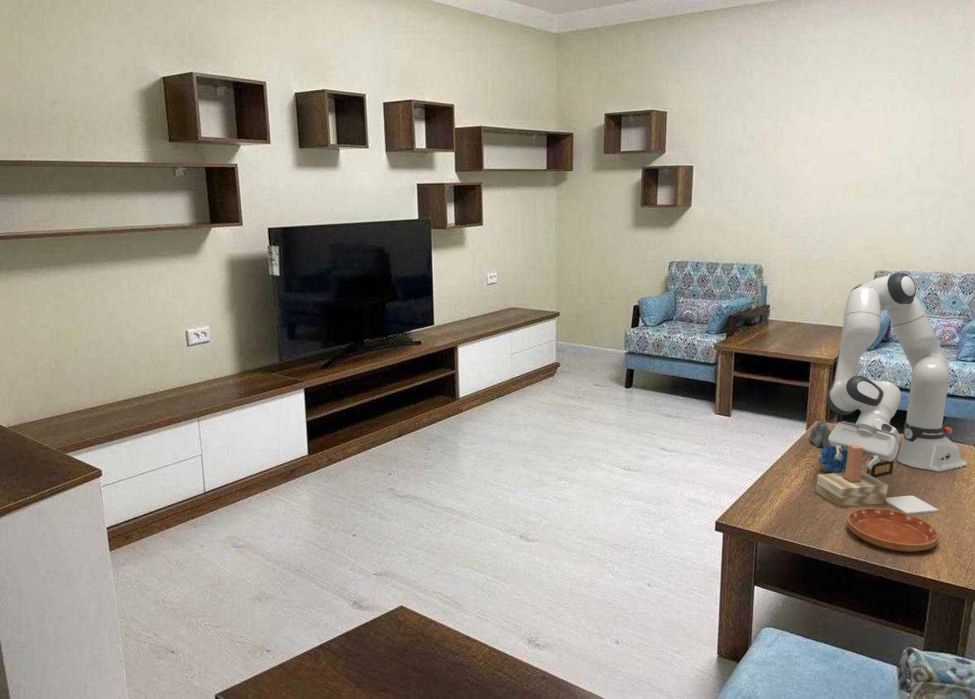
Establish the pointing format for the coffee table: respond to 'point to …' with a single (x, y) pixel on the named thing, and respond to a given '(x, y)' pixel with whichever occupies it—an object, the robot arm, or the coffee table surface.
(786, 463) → the coffee table surface
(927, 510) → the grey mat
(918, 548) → the saucer
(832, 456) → the grapes
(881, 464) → the ammunition clip
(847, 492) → the cream block with hole
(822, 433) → the mineral rock
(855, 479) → the wooden block
